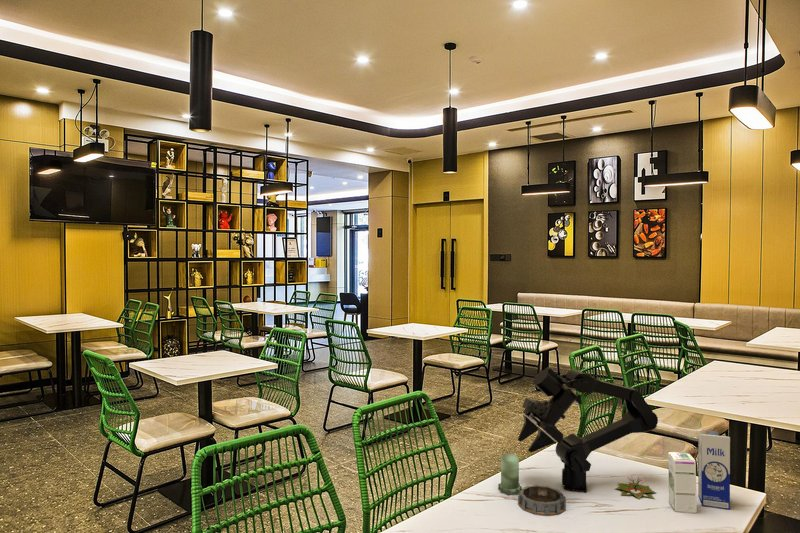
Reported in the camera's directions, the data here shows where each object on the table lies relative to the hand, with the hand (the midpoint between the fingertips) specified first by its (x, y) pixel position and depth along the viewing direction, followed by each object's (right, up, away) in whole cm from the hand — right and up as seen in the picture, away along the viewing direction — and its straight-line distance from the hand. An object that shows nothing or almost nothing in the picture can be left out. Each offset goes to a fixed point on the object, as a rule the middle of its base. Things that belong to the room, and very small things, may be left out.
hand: (524, 445), depth 160 cm
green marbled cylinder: (-4, -13, 0) cm, 14 cm away
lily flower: (+33, -14, -1) cm, 35 cm away
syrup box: (+41, -13, -12) cm, 45 cm away
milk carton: (+51, -13, -9) cm, 54 cm away
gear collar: (+3, -13, -9) cm, 17 cm away
